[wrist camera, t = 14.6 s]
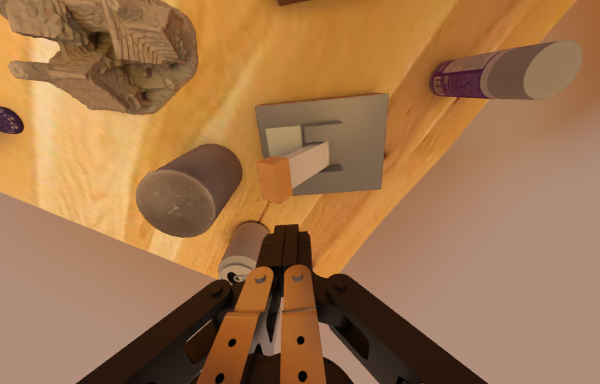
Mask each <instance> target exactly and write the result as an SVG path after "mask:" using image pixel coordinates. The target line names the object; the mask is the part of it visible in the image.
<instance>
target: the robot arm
mask: <svg viewBox="0 0 600 384" xmlns="http://www.w3.org/2000/svg"><path fill="white" fill-rule="evenodd" d="M281 297H284V311H282V324H281V325H282V327H281V353H278V354H275V355H274V344H275V338H276V333H277V327H278V322H279V316H280V310H281V309H280V303H281ZM210 320H211V321H210ZM208 321H210V322H209V323H208V324H207V325H206V326H205V327H203V326H204V325H205V324H206V323H207V322H208ZM318 322H321V323H325V324H328V325H329V327H330V329H331V330H332V331H333V333H334V334H335V335H336V336H337V337H338V338H339V339H340V340H341V341H342V343H343V344H344V345H345V346H346V347H347V348H348V349H349V350H350V351H351V352H352V354H353V355H354V356H355V357H356V358H357V359H358V360H359V361H360V362H361V363H362V365H363V366H364V367H365V368H366V369H367V370H368V371H369V372H370V373H371V375H372V376H373V377H374V378H375V379H376V380H377V381H378V382H379V383H380V384H488V383H487V382H485V381H484V380H483V379H481V378H480V377H479V376H477V375H476V374H475V373H473V372H472V371H471V370H470V369H468V368H467V367H466V366H464V365H463V364H462V363H461V362H459V361H458V360H456V359H455V358H454V357H453V356H452V355H450V354H449V353H448V352H446V351H445V350H444V349H443V348H441V347H440V346H438V345H437V344H436V343H435V342H433V341H432V340H431V339H430V338H428V337H427V336H426V335H424V334H423V333H422V332H420V331H419V330H418V329H417V328H415V327H414V326H413V325H411V324H410V323H409V322H408V321H406V320H405V319H404V318H402V317H401V316H400V315H399V314H397V313H396V312H394V311H393V310H392V309H391V308H389V307H388V306H387V305H386V304H384V303H383V302H382V301H380V300H379V299H378V298H377V297H375V296H374V295H373V294H371V293H370V292H369V291H367V290H366V289H365V288H364V287H362V286H361V285H360V284H358V283H357V282H356V281H354V280H353V279H352V278H350V277H349V276H347V275H345V274H334V275H332V276H330V277H329V278H323V277H320V276H318V275H316V274H315V273H314V272H313V270H312V253H311V242H310V235H309V234H308V233H307V231H304V232H299V225H298V224H292V225H277V226H275V229H274V233H273V234H267V235H266V236H265V237H264V239H263V241H262V245H261V248H260V252H259V256H258V259H257V263H256V267H255V269H254V270H252V271H251V272H250V273H249V274H248V276H247V279H246V280H244V281H241V282H238V283H235V284H232V285H231V284H230V282H229V281H227V280H225V279H220V280H216V281H214V282H212V283H210V284H209V285H207V286H206V287H205V288H203V289H202V290H201V291H199V292H198V293H197V294H195V295H194V296H193V297H191V298H190V299H189V300H187V301H186V302H185V303H183V304H182V305H180V306H179V307H178V308H176V309H175V310H174V311H172V312H171V313H170V314H168V315H167V316H166V317H164V318H163V319H162V320H160V321H159V322H158V323H157V324H155V325H154V326H152V327H151V328H150V329H148V330H147V331H146V332H144V333H143V334H142V335H141V336H139V337H138V338H136V339H135V340H134V341H132V342H131V343H130V344H128V345H127V346H126V347H124V348H123V349H122V350H120V351H119V352H118V353H117V354H115V355H114V356H112V357H111V358H110V359H108V360H107V361H106V362H104V363H103V364H102V365H100V366H99V367H98V368H96V369H95V370H94V371H92V372H91V373H90V374H88V375H87V376H86V377H84V378H83V379H82V380H80V381H79V382H78V383H76V384H188V383H189V382H190V381H191V380H192V379H193V378H194V379H193V380H192V381H191V382H190V383H189V384H354V383H353V382H352V381H351V379H350V378H349V377H348V375H347V374H346V373H345V372H344V371H343V370H342V369H341V368H340V367H339V366H338V365H336V364H335V363H334V362H332V361H331V360H329V359H327V358H325V357H323V356H322V348H321V340H320V333H319V326H318ZM201 327H203V328H202V329H201V330H200V331H199V332H198V333H197V334H196V335H195V336H194V337H192V338H191V339H190V340H189V341H188V342H186V341H187V340H188V339H189V338H190V337H191V336H192V335H193V334H195V333H196V332H197V331H198V330H199V329H200V328H201ZM201 370H202V371H201ZM200 371H201V372H200ZM199 372H200V373H199ZM198 373H199V374H198ZM197 374H198V375H197ZM196 375H197V376H196Z"/></svg>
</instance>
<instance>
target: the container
mask: <svg viewBox="0 0 600 384" xmlns="http://www.w3.org/2000/svg"><path fill="white" fill-rule="evenodd" d="M582 58H583V54H582V50H581V47H580V46H579V45H578V44H577V43H576V42H574V41H571V40H561V41H555V42H549V43H542V44H536V45H530V46H524V47H518V48H512V49H506V50H501V51H496V52H491V53H486V54H481V55H475V56H470V57H465V58H460V59H455V60H450V61H446V62H444V63H442V64H440V65H439V66H438V67H437V68H436V69H435V70H434V71H433V73H432V75H431V78H430V89H431V91H432V92H433V93H434V94H435V95H437V96H447V97H465V98H484V99H529V100H541V99H547V98H550V97H553V96H555V95H556V94H558V93H560V92H561V91H562V90H564V89H565V88H566V87H567V86H568V85H569V84H570V83H571V82H572V81H573V79H574V78H575V77H576V75H577V73H578V71H579V69H580V67H581V64H582Z"/></svg>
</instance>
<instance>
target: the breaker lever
mask: <svg viewBox="0 0 600 384" xmlns="http://www.w3.org/2000/svg"><path fill="white" fill-rule="evenodd" d="M256 163H257V169H258V174H259V179H260V185H261V190H262V195H263V200H267V201H270V202H273V203H277V204H280V203H282V202H283V201H285V200H286V199H288V198H289V197H291V196H292V195H293V191H292V189H293V188H295V187H296V186H298V185H299V184H301V183H302V182H304V181H305V180H307V179H309V178H310V177H312V176H313V175H315V174H316V173H318V172H319V171H321V170H322V169H324V168H326V167H327V166H329V165H330V160H329V141H320V142H314V143H312V144H310V145H308V146H305V147H303V148H301V149H299V150H296V151H294V152H292V153H290V154H287V155H285V156H283V157H277V156H270V157H268V158H265V159H263V160H261V161H258V162H256Z"/></svg>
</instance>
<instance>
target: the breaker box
mask: <svg viewBox="0 0 600 384" xmlns="http://www.w3.org/2000/svg"><path fill="white" fill-rule="evenodd" d="M388 100H389V94H385V93H373V94H363V95H353V96H342V97H332V98H322V99H312V100H302V101H292V102H281V103H271V104H261V105H259V106H256V107H255V110H256V116H257V122H258V128H259V134H260V139H261V145H262V151H263V157H264V159H265V158H268V157H270V156H277V157H283V156H285V155H287V154H290V153H292V152H294V151H296V150H299V149H301V148H303V147H305V146H308V145H310V144H312V143H314V142H320V141H329V160H330V165H329V166H327V167H326V168H324V169H322V170H321V171H319V172H318V173H316V174H315V175H313V176H312V177H310V178H309V179H307V180H305V181H304V182H302V183H301V184H299V185H298V186H296V187H295V188H293V189H292V191H293V195H292V196H297V195H310V194H324V193H337V192H351V191H364V190H377V189H381V183H382V171H383V159H384V147H385V136H386V124H387V112H388Z"/></svg>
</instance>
